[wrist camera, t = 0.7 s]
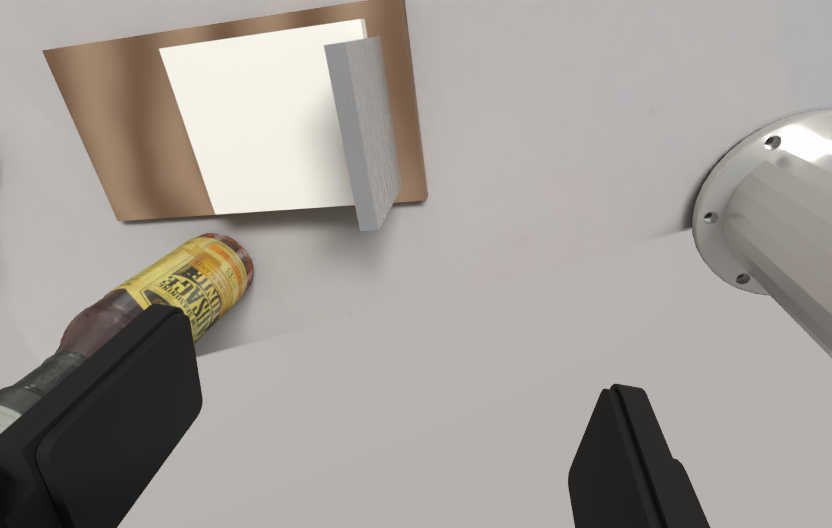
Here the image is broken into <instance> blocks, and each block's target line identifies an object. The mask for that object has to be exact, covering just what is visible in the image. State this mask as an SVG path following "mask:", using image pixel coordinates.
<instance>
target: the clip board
mask: <svg viewBox="0 0 832 528" xmlns="http://www.w3.org/2000/svg"><path fill="white" fill-rule="evenodd" d="M357 19H365V25H366V31H367V38H370V37H378V36H380V39H381V46H382V53H383V60H384V67H385V74H386V80H387V87H388V94H389V101H390V108H391V115H392V122H393V129H394V136H395V143H396V150H397V157H398V164H399V171H400V178H401V185H402V188H401V190H400V192H399V194H398V195H397V197H396V199H395V201H394V203H396V202H411V201H426V199H427V197H428V193H427V184H426V176H425V167H424V159H423V151H422V142H421V134H420V125H419V117H418V109H417V100H416V92H415V83H414V75H413V67H412V58H411V50H410V41H409V33H408V25H407V16H406V8H405V0H367V1H361V2H354V3H348V4H341V5H335V6H328V7H322V8H315V9H309V10H302V11H296V12H289V13H283V14H277V15H270V16H264V17H257V18H251V19H244V20H238V21H231V22H225V23H218V24H212V25H206V26H199V27H193V28H186V29H180V30H173V31H167V32H160V33H154V34H147V35H141V36H134V37H128V38H122V39H115V40H109V41H102V42H96V43H89V44H83V45H76V46H70V47H63V48H57V49H50V50H44V51H43V54H44V56H45V58H46V60H47V63H48V65H49V67H50V69H51V72H52V74H53V76H54V78H55V81H56V83H57V85H58V87H59V90H60V92H61V94H62V96H63V99H64V101H65V103H66V105H67V108H68V110H69V112H70V114H71V117H72V119H73V121H74V123H75V126H76V128H77V130H78V132H79V135H80V137H81V139H82V141H83V144H84V146H85V148H86V150H87V153H88V155H89V157H90V159H91V162H92V164H93V166H94V168H95V171H96V173H97V175H98V177H99V180H100V182H101V184H102V186H103V189H104V191H105V193H106V195H107V198H108V200H109V202H110V204H111V207H112V209H113V211H114V213H115V216H116V218H117V220H118V221H129V220H144V219H159V218H174V217H189V216H203V215H215V212H214V209H213V206H212V203H211V201H210V198H209V195H208V192H207V189H206V186H205V183H204V180H203V177H202V174H201V171H200V168H199V165H198V162H197V159H196V157H195V154H194V151H193V148H192V145H191V142H190V139H189V136H188V133H187V130H186V127H185V124H184V121H183V118H182V115H181V112H180V110H179V107H178V104H177V101H176V98H175V95H174V92H173V89H172V86H171V83H170V80H169V77H168V74H167V71H166V68H165V66H164V63H163V60H162V57H161V54H160V51H159V49H160V48H166V47H173V46H180V45H187V44H194V43H200V42H207V41H214V40H221V39H228V38H234V37H241V36H248V35H255V34H262V33H268V32H275V31H282V30H289V29H295V28H302V27H309V26H316V25H323V24H329V23H336V22H343V21H350V20H357ZM350 206H352V205H350ZM335 207H337V206H335ZM320 208H322V207H320ZM305 209H307V208H305ZM291 210H293V209H291ZM276 211H278V210H276ZM261 212H263V211H261ZM246 213H248V212H246ZM231 214H233V213H231ZM216 215H218V214H216Z"/></svg>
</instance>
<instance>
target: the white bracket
mask: <svg viewBox="0 0 832 528" xmlns="http://www.w3.org/2000/svg"><path fill="white" fill-rule="evenodd" d="M159 51H160V54H161V57H162V60H163V63H164V66H165V68H166V71H167V74H168V77H169V80H170V83H171V86H172V89H173V92H174V95H175V98H176V101H177V104H178V107H179V110H180V112H181V115H182V118H183V121H184V124H185V127H186V130H187V133H188V136H189V139H190V142H191V145H192V148H193V151H194V154H195V157H196V159H197V162H198V165H199V168H200V171H201V174H202V177H203V180H204V183H205V186H206V189H207V192H208V195H209V198H210V201H211V203H212V206H213V209H214V212H215V215H216V214H231V213H246V212H261V211H276V210H291V209H305V208H320V207H335V206H350V205H355V208H356V214H357V219H358V224H359V229H360V231H375V230H379V228H380V226H381V224H382V222H383V221H384V219H385V217H386V215H387V213H388V212H389V210H390V208H391V206H392V204H393V203H394V201H395V199H396V197H397V195H398V194H399V192H400V190H401V188H402V185H401V178H400V171H399V164H398V157H397V150H396V143H395V136H394V129H393V122H392V115H391V108H390V101H389V94H388V87H387V80H386V74H385V67H384V60H383V53H382V46H381V39H380V36H378V37H370V38H367V31H366V25H365V19H357V20H350V21H343V22H336V23H329V24H323V25H316V26H309V27H302V28H295V29H289V30H282V31H275V32H268V33H262V34H255V35H248V36H241V37H234V38H228V39H221V40H214V41H207V42H200V43H194V44H187V45H180V46H173V47H166V48H160V49H159Z"/></svg>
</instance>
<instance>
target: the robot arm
mask: <svg viewBox="0 0 832 528" xmlns="http://www.w3.org/2000/svg"><path fill="white" fill-rule="evenodd" d="M769 137H770V139H769V141H768V142H767V143H765V142H766V140H767V139H768V138H769ZM707 213H709V214H708V215H707V216H705V215H706V214H707ZM692 231H693V237H694V241H695V244H696V248H697V250H698V252H699V253H700V255H701V257H702V259H703V261H704V262H705V263H706V264H707V265H708V266H709V268H710V269H711V270H712V271H713V272H714V273H715V274H716V275H717V276H719V277H720V278H721V279H722V280H723V281H725V282H727V283H728V284H730V285H732V286H734V287H736V288H738V289H741V290H745V291H748V292H752V293H755V294H763V295H771V297H772V298H774V300H776V302H777V303H778V304H779V305H780V306H781V307H782V308H783V309H784V310H785V311H786V312H787V313H788V314H789V315H790V316H791V317H792V318H793V319H794V320H795V321H796V322H797V323H798V324H799V325H800V326H801V327H802V328H803V329H804V330H805V331H806V332H807V333H808V334H809V336H810V337H812V339H813V340H814V341H815V342H816V343H817V344H818V345H819V346H820V347H821V348H822V349H823V350H824V351H825V352H826V353H827V354H828V355H829V356H830V357H831V358H832V109H827V110H816V111H809V112H805V113H801V114H797V115H793V116H789V117H786V118H784V119H782V120H779V121H777V122H774V123H772V124H770V125H767V126H765V127H764V128H762V129H760V130H758V131H757V132H755V133H753V134H752V135H750V136H748V137H747V138H745V139H744V140H743V141H742V142H740V143H739V144H738V145H737V146H735V147H734V148H733V149H732V150H730V151H729V152H728V153H727V154H726V155H725V156H724V157H723V159H722V160H721V161H720V162H719V163H718V164H717V165H716V166H715V167H714V168H713V170H712V172H711V173H710V175H709V176H708V178H707V179H706V181H705V182H704V184H703V186H702V188H701V190H700V193H699V195H698V197H697V200H696V202H695V207H694V212H693V217H692ZM201 407H202V393H201V387H200V380H199V374H198V367H197V361H196V354H195V348H194V342H193V335H192V329H191V322H190V318H189V317H188V315H185V314H184V311H183V310H182V308H180V307H175V306H170V305H164V304H158V303H154V304H152V305H150V306H148V307H147V308H146V309H145V310H144V311H143V312H141V313H140V314H139V315H138V316H137V317H136V318H134V319H133V320H132V321H131V322H130V323H129V324H127V325H126V326H125V327H124V328H123V329H122V330H121V331H119V332H118V333H117V334H116V335H115V336H114V337H112V338H111V339H110V340H109V341H108V342H107V343H105V344H104V345H103V346H102V347H101V348H100V349H98V350H97V351H96V352H95V353H94V354H93V355H91V356H90V357H89V358H88V359H87V360H86V361H84V362H83V363H82V364H81V365H80V366H79V367H77V368H76V369H75V370H74V371H73V372H72V373H70V374H69V375H68V376H67V377H66V378H65V379H63V380H62V381H61V382H60V383H59V384H58V385H56V386H55V387H54V388H53V389H52V390H51V391H49V392H48V393H47V394H46V395H45V396H44V397H42V398H41V399H40V400H39V401H38V402H37V403H35V404H34V405H33V406H32V407H31V408H30V409H28V410H27V411H26V412H25V413H24V414H23V415H21V416H20V417H19V418H18V419H17V420H16V421H14V422H13V423H12V424H11V425H10V426H9V427H7V428H6V429H5V430H4V431H3V432H2V433H0V528H117V527H118V525H119V524H120V522H121V521H122V520H123V518H124V517H125V516H126V514H127V513H128V511H129V510H130V509H131V507H132V506H133V505H134V503H135V502H136V500H137V499H138V498H139V496H140V495H141V494H142V492H143V491H144V489H145V488H146V487H147V485H148V484H149V482H150V481H151V480H152V478H153V477H154V476H155V474H156V473H157V472H158V470H159V469H160V467H161V466H162V465H163V463H164V462H165V460H166V459H167V458H168V456H169V455H170V453H171V452H172V451H173V449H174V448H175V447H176V445H177V444H178V443H179V441H180V440H181V438H182V437H183V436H184V434H185V433H186V431H187V430H188V429H189V427H190V426H191V425H192V423H193V422H194V421H195V419H196V418H197V416H198V415H199V413H200V410H201ZM568 486H569V493H570V499H571V505H572V511H573V517H574V523H575V528H710V526H709V524H708V522H707V519H706V517H705V515H704V512H703V510H702V508H701V506H700V503H699V501H698V498H697V496H696V494H695V491H694V489H693V487H692V484H691V482H690V480H689V477H688V475H687V473H686V471H685V469H684V467H683V465H682V464H681V463H680V462H679V461H678V460H677V459H673V457H672V455H671V453H670V450H669V448H668V445H667V443H666V440H665V438H664V436H663V433H662V431H661V428H660V426H659V424H658V421H657V419H656V416H655V414H654V412H653V409H652V407H651V404H650V402H649V399H648V397H647V394H646V393H645V391H644V390H643V389H642V388H637V387H632V386H626V385H620V384H613V385H612V386H611V388H610V390H609V389H603V390H602V392H601V394H600V396H599V399H598V401H597V404H596V406H595V408H594V411H593V413H592V416H591V418H590V421H589V423H588V426H587V428H586V431H585V433H584V436H583V438H582V441H581V443H580V445H579V448H578V450H577V453H576V455H575V458H574V460H573V463H572V465H571V468H570V471H569V477H568Z"/></svg>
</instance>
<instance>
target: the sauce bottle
mask: <svg viewBox="0 0 832 528" xmlns="http://www.w3.org/2000/svg"><path fill="white" fill-rule="evenodd" d="M252 276H253V265H252V264H251V259H250V258H249V256H248V254H247V253H246V252H245V250H244V249H243V248H242V247H241V246H240V245H239V244H238V243H237V242H236V241H235V240H234V239H232V238H230V237H228V236H222V235H218V234H213V233H210V234H208V233H207V234H204V235H201V236H199V237H197V238H194V239H191V240H189V241H187V242H185V243H184V244H182V245H181V246H179V247H178V248H176V249H175V250H173V251H172V252H170V253H169V254H167V255H166V256H164V257H163V258H161V259H160V260H158V261H157V262H155V263H154V264H152V265H151V266H149V267H148V268H146V269H145V270H143V271H141V272H140V273H138V274H137V275H135V276H134V277H132V278H130V279H129V280H127V281H126V282H124V283H123V284H121V285H120V286H118V287H117V288H115V289H113V290H112V291H110V292H109V293H107V294H106V295H105V296H104V298H103V299H101V300H99V301H98V302H97V303H95V304H94V305H92V306H90V307H88V308H86V309H85V310H83V311H82V312H81V313H80V314H78V315H77V316H76V317H75V318H74V319H73V320H72V321H71V322H70V324H69V325H68V327H67V329H66V330H65V332H64V334H63V337H62V339H61V344H60V346H59V348H58V350H57V351H56V353H55V354H54V355H53V356H51V357H49V358H47V359H46V360H45V361H44V362H43V363H42V364H41V366H39V367H38V368H36V369H35V370H34V371H33V372H31V373H29V374H28V375H27V376H25V377H24V378H23V379H21V380H20V381H18V382H17V383H16V384H14V385H13V386H9V387H6V388H3V389H1V390H0V433H2V432H3V431H4V430H5V429H6V428H7V427H9V426H10V425H11V424H12V423H13V422H14V421H16V420H17V419H18V418H19V417H20V416H21V415H23V414H24V413H25V412H26V411H27V410H28V409H30V408H31V407H32V406H33V405H34V404H35V403H37V402H38V401H39V400H40V399H41V398H42V397H44V396H45V395H46V394H47V393H48V392H49V391H51V390H52V389H53V388H54V387H55V386H56V385H58V384H59V383H60V382H61V381H62V380H63V379H65V378H66V377H67V376H68V375H69V374H70V373H72V372H73V371H74V370H75V369H76V368H77V367H79V366H80V365H81V364H82V363H83V362H84V361H86V360H87V359H88V358H89V357H90V356H91V355H93V354H94V353H95V352H96V351H97V350H98V349H100V348H101V347H102V346H103V345H104V344H105V343H107V342H108V341H109V340H110V339H111V338H112V337H114V336H115V335H116V334H117V333H118V332H119V331H121V330H122V329H123V328H124V327H125V326H126V325H127V324H129V323H130V322H131V321H132V320H133V319H134V318H136V317H137V316H138V315H139V314H140V313H141V312H143V311H144V310H145V309H146V308H147V307H148V306H150V305H152V304H154V303H158V304H164V305H170V306H175V307H180V308H182V310H183V311H184V314H185V315H188V317H189V318H190V322H191V329H192V335H193V342H194V344H195V343H196V342H197V340H198V339H199V338H201V337H202V336H203V334H205V333H206V332H207V331H208V330H209V329H210V328H211V327H212V326H213V325H214V324H215V323H216V322H217V321H218V320H219V319H220V318H221V317H222V316H223V315H224V314H225V313H226V312H227V311H228V310H229V309H230V308H231V307H232V306H233V305H234V304H235V303H236V302H237V301H238V300H239V299H240V298H241V297H242V295H243V294H244V292H245V290H246V289H247V288H248V287H249V285H250V284H251V281H252Z"/></svg>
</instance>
